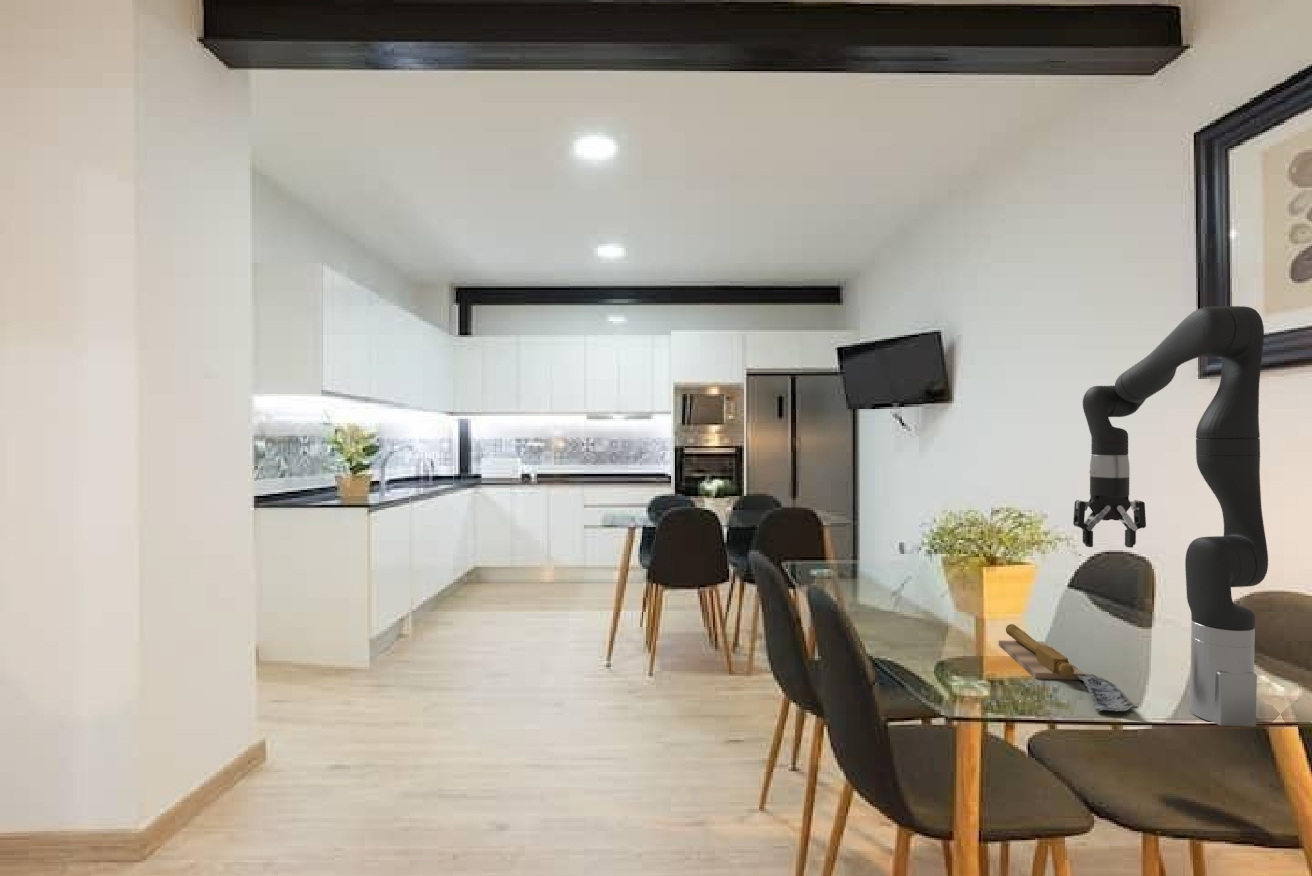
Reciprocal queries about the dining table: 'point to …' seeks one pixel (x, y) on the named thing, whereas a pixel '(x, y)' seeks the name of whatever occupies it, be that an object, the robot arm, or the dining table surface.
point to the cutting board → (1033, 661)
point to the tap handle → (1042, 652)
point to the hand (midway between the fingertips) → (1109, 546)
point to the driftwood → (1105, 694)
